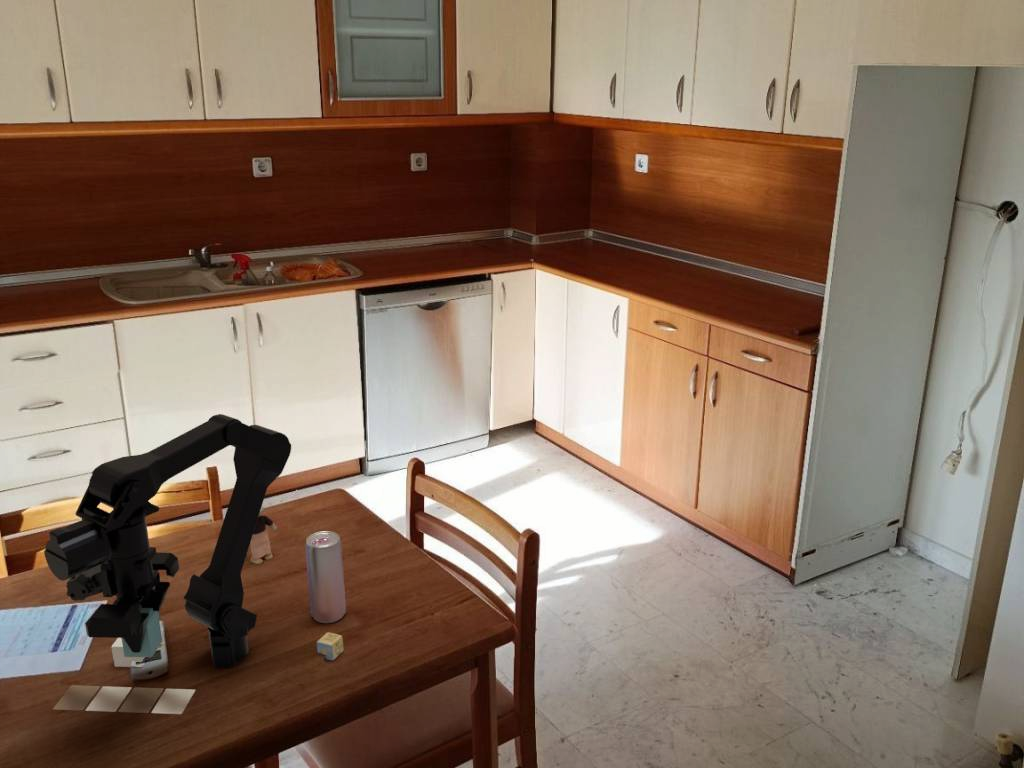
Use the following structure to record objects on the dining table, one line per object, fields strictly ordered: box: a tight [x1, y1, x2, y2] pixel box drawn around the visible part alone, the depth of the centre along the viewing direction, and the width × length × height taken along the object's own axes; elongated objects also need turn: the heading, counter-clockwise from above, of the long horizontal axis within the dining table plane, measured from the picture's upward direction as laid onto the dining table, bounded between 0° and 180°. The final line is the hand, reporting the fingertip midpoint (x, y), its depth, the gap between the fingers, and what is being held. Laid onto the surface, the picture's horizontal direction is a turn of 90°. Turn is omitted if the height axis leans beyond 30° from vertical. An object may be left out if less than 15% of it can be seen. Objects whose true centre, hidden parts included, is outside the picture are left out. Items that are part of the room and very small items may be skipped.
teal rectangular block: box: [122, 608, 163, 658], centre depth 137 cm, size 4×4×6 cm
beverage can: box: [305, 530, 347, 624], centre depth 161 cm, size 6×6×15 cm
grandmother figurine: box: [249, 503, 278, 565], centre depth 180 cm, size 8×4×13 cm, turn 144°
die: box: [111, 638, 145, 668], centre depth 151 cm, size 4×4×5 cm
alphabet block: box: [316, 632, 344, 661], centre depth 153 cm, size 3×3×3 cm
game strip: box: [52, 684, 196, 715], centre depth 142 cm, size 9×20×1 cm, turn 87°
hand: (142, 643), depth 138 cm, fingers closed on teal rectangular block, 4 cm apart
